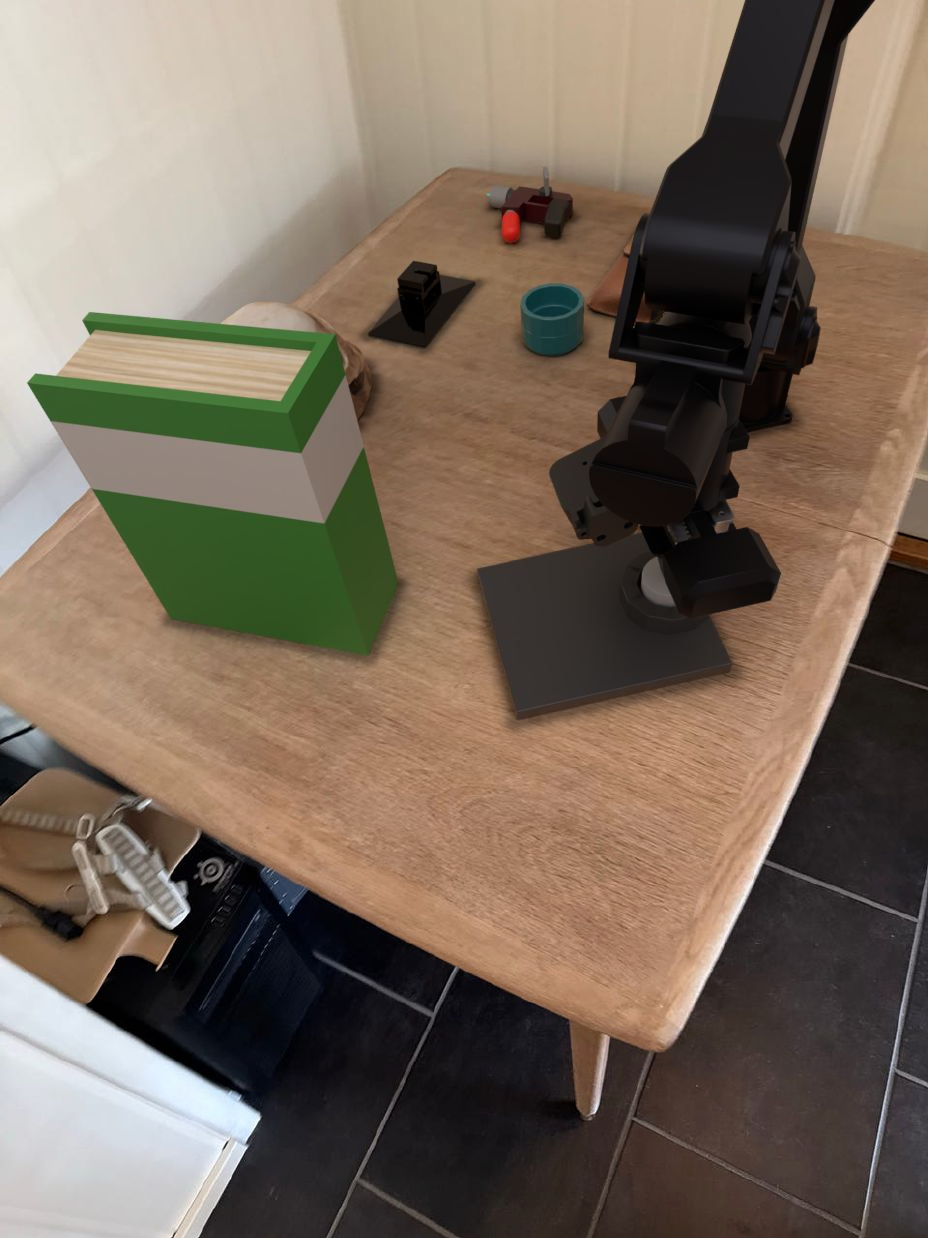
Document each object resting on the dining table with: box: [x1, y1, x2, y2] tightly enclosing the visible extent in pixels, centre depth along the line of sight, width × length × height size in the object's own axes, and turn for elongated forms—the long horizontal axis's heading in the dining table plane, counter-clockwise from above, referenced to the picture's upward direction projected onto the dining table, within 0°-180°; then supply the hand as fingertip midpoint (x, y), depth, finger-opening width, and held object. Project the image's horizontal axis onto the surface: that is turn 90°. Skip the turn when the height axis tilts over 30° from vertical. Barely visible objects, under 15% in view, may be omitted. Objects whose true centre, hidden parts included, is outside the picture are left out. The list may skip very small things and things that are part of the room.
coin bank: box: [219, 301, 373, 421], centre depth 82 cm, size 16×17×13 cm
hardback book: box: [26, 311, 400, 656], centre depth 63 cm, size 18×7×24 cm, turn 74°
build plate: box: [367, 260, 477, 349], centre depth 94 cm, size 12×7×5 cm, turn 154°
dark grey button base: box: [476, 532, 733, 721], centre depth 67 cm, size 17×14×3 cm
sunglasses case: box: [586, 233, 665, 323], centre depth 94 cm, size 18×7×7 cm
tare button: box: [641, 557, 676, 607], centre depth 66 cm, size 4×4×2 cm
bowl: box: [520, 282, 585, 357], centre depth 88 cm, size 6×6×4 cm
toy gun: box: [486, 166, 574, 244], centre depth 102 cm, size 10×12×5 cm
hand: (669, 574), depth 65 cm, fingers closed, pressing on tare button
